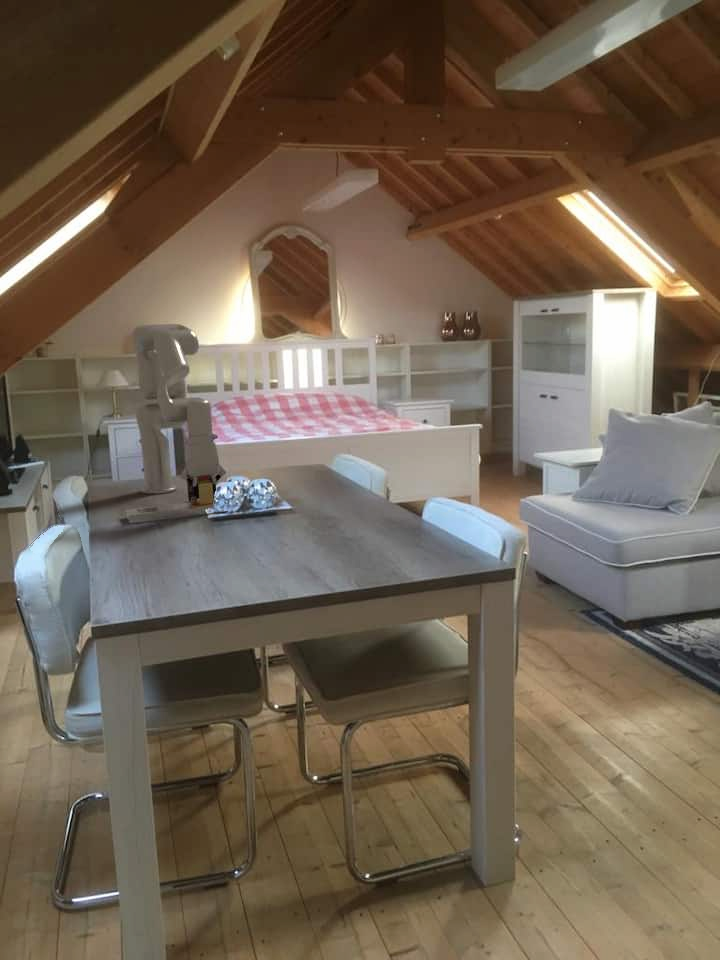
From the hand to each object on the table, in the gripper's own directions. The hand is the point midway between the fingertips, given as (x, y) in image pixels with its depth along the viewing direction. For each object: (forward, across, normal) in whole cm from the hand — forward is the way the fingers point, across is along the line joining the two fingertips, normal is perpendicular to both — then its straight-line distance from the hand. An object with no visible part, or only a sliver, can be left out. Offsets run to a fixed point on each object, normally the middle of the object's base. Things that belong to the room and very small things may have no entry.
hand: (204, 496), depth 256 cm
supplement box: (+5, -2, -15) cm, 16 cm away
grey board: (+5, +9, 0) cm, 10 cm away
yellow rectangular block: (+3, 0, 0) cm, 3 cm away
